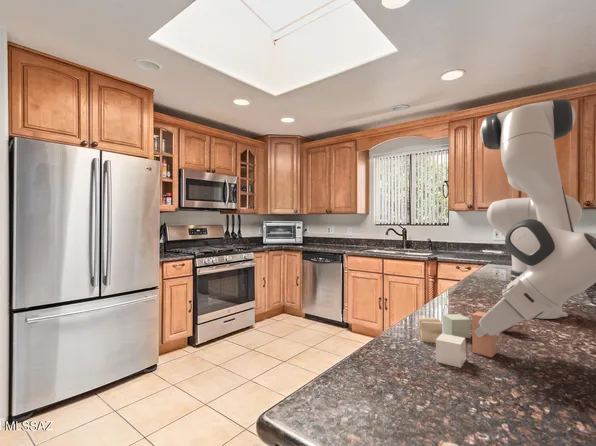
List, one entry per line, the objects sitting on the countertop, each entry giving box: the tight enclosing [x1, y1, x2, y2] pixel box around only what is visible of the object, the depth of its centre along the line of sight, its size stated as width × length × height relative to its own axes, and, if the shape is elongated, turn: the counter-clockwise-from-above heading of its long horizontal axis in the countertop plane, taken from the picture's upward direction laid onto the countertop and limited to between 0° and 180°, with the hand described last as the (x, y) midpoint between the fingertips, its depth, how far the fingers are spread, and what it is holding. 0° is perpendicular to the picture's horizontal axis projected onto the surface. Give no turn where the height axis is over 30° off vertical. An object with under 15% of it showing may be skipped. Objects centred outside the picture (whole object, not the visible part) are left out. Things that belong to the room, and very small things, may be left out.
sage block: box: [442, 313, 471, 339], centre depth 88 cm, size 5×5×5 cm
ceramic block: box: [435, 333, 467, 369], centre depth 72 cm, size 5×5×5 cm
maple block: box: [418, 316, 443, 344], centre depth 85 cm, size 5×5×5 cm
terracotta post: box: [471, 310, 498, 358], centre depth 76 cm, size 4×4×9 cm
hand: (481, 331), depth 76 cm, fingers open, 5 cm apart
